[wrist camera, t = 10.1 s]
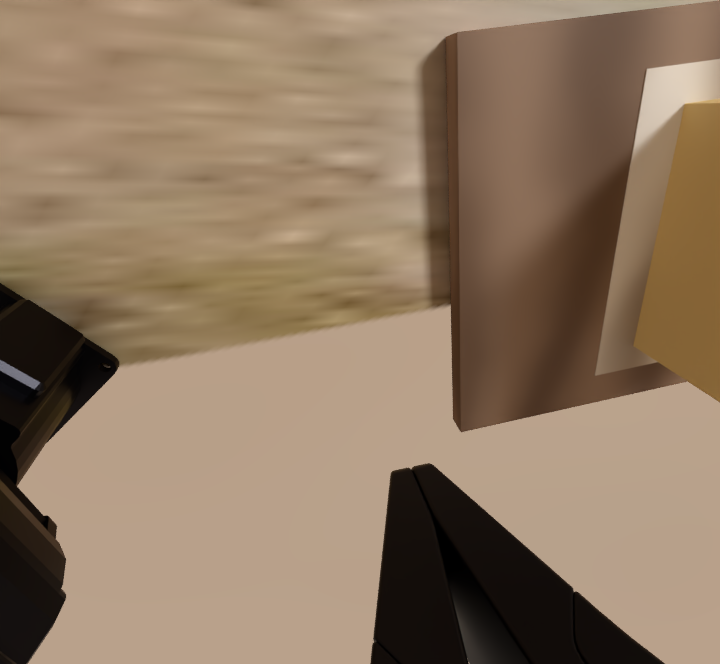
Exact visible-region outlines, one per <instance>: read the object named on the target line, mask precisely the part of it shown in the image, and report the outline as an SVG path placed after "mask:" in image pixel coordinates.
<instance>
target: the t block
mask: <svg viewBox="0 0 720 664" xmlns="http://www.w3.org/2000/svg"><path fill="white" fill-rule="evenodd" d="M633 346H634V347H636V348H637V349H639V350H640V351H642V352H643V353H645V354H646V355H648V356H649V357H651V358H652V359H654V360H656V361H657V362H659V363H660V364H662V365H663V366H665V367H666V368H668V369H669V370H671V371H672V372H674V373H676V374H677V375H679V376H680V377H682V378H683V379H685V380H686V381H688V382H689V383H691V384H693V385H694V386H696V387H697V388H699V389H700V390H702V391H703V392H705V393H706V394H708V395H710V396H711V397H713V398H714V399H716V400H717V401H719V402H720V99H713V100H706V101H699V102H693V103H686V104H685V105H684V109H683V114H682V119H681V124H680V128H679V133H678V138H677V142H676V147H675V152H674V156H673V161H672V166H671V171H670V175H669V180H668V185H667V189H666V194H665V199H664V204H663V208H662V213H661V218H660V222H659V227H658V232H657V236H656V241H655V246H654V251H653V255H652V260H651V265H650V269H649V274H648V279H647V284H646V288H645V293H644V298H643V302H642V307H641V312H640V316H639V321H638V326H637V331H636V335H635V340H634V345H633Z"/></svg>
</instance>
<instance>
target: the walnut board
mask: <svg viewBox="0 0 720 664" xmlns="http://www.w3.org/2000/svg"><path fill="white" fill-rule="evenodd" d="M446 82H447V132H448V183H449V233H450V284H451V332H452V333H451V334H452V383H453V384H452V385H453V419H454V421H455V423H456V425H457V426H458V428H459V430H460V431H461V432H464V431H468V430H473V429H477V428H481V427H486V426H491V425H495V424H500V423H504V422H508V421H513V420H517V419H522V418H526V417H531V416H535V415H540V414H544V413H549V412H553V411H558V410H562V409H566V408H571V407H575V406H580V405H584V404H589V403H593V402H598V401H602V400H607V399H611V398H615V397H620V396H624V395H629V394H633V393H638V392H642V391H646V390H651V389H656V388H660V387H664V386H669V385H674V384H678V383H682V382H686V380H685V379H683V378H682V377H680V376H679V375H677V374H676V373H674V372H672V371H671V370H669V369H668V368H666V367H665V366H663V365H662V364H660V363H659V362H657V361H656V360H654V359H652V358H651V357H649V356H648V355H646V354H645V353H643V352H642V351H640V350H639V349H637V348H636V347H634V346H633V345H634V340H635V335H636V331H637V326H638V321H639V316H640V312H641V307H642V302H643V298H644V293H645V288H646V284H647V279H648V274H649V269H650V265H651V260H652V255H653V251H654V246H655V241H656V236H657V232H658V227H659V222H660V218H661V213H662V208H663V204H664V199H665V194H666V189H667V185H668V180H669V175H670V171H671V166H672V161H673V156H674V152H675V147H676V142H677V138H678V133H679V128H680V124H681V119H682V114H683V109H684V105H685V104H686V103H693V102H699V101H706V100H713V99H720V1H712V2H704V3H696V4H688V5H679V6H671V7H663V8H654V9H646V10H638V11H630V12H621V13H613V14H605V15H597V16H588V17H580V18H572V19H563V20H555V21H547V22H539V23H530V24H522V25H514V26H506V27H497V28H489V29H481V30H472V31H464V32H457V33H455V34H452V35H450V36H447V37H446Z"/></svg>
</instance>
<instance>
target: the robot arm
mask: <svg viewBox="0 0 720 664" xmlns="http://www.w3.org/2000/svg"><path fill="white" fill-rule="evenodd" d="M102 363H107V364H109V365H110V368H106V367H104V366H103V365H102ZM118 367H119V361H118V359H117V358H116V357H115V356H113V355H112V354H110V353H109V352H107V351H106V350H104V349H102V348H101V347H99V346H98V345H96V344H95V343H93V342H92V341H90V340H88V339H87V338H85V337H84V336H83V334H82V333H80V332H79V331H77V330H75V329H74V328H72V327H71V326H69V325H68V324H66V323H65V322H63V321H61V320H60V319H58V318H57V317H55V316H54V315H52V314H51V313H49V312H47V311H46V310H44V309H43V308H41V307H40V306H38V305H36V304H35V303H33V302H32V301H30V300H26V299H24V298H23V297H21V296H20V295H18V294H16V293H15V292H13V291H12V290H10V289H9V288H7V287H5V286H4V285H2V284H1V283H0V664H28V662H29V661H30V659H31V658H32V656H33V655H34V653H35V652H36V650H37V649H38V647H39V646H40V645H41V643H42V642H43V640H44V639H45V637H46V636H47V634H48V633H49V631H50V630H51V628H52V627H53V624H54V623H55V620H56V618H57V616H58V614H59V612H60V610H61V608H62V606H63V604H64V601H65V598H66V594H65V592H64V591H63V590H62V589H61V588H62V585H63V579H64V570H65V563H66V558H65V556H64V553H63V551H62V549H61V546H60V544H59V542H58V541H57V540H56V529H57V526H56V524H55V523H54V522H53V521H52V520H51V518H50V517H49V516H43V515H42V514H41V513H40V512H39V510H38V509H37V508H36V507H35V506H34V505H33V504H32V503H31V502H30V501H29V499H28V498H27V497H26V496H25V495H24V494H23V493H22V492H21V491H20V489H19V488H17V485H18V484H19V482H20V481H21V479H22V478H23V476H24V475H25V473H26V472H27V471H28V469H29V468H30V466H31V465H32V463H33V462H34V460H35V458H36V457H37V456H38V454H39V453H40V451H41V450H42V448H43V447H44V445H45V444H46V443H47V442H48V441H49V440H50V439H51V438H52V437H53V436H54V435H55V434H56V433H57V432H58V431H59V430H60V429H61V428H62V427H63V425H64V424H66V423H67V422H68V420H70V418H72V416H73V415H74V414H75V413H76V412H77V411H78V410H79V409H80V408H81V407H82V406H83V405H84V404H85V403H86V402H87V401H88V400H89V399H90V398H91V397H92V396H93V395H94V394H95V393H96V392H97V391H98V390H99V389H100V388H101V387H102V386H103V385H104V384H105V383H106V382H107V381H108V380H109V379H110V378H111V377H112V376H113V375H114V374H115V372H116V371H117V369H118ZM373 639H374V643H373V645H372V654H371V664H469V663H470V664H664V663H663V662H662V661H661V660H660V659H658V658H657V657H656V656H654V655H653V654H652V653H650V652H649V651H648V650H647V649H645V648H644V647H643V646H641V645H640V644H639V643H637V642H636V641H635V640H634V639H632V638H631V637H630V636H628V635H627V634H626V633H625V632H624V631H623V630H621V629H620V628H619V627H617V625H615V624H614V623H613V622H612V621H611V620H609V619H608V618H607V617H606V616H605V615H604V614H602V613H601V612H600V611H599V610H598V609H596V608H595V607H594V606H593V605H592V604H591V603H590V602H588V601H587V600H586V599H585V598H584V597H583V596H581V594H579V593H578V592H573V588H572V587H571V586H570V585H569V584H568V583H567V582H565V581H564V580H563V579H562V578H561V577H560V576H559V575H557V574H556V573H555V572H554V571H553V570H552V569H551V568H550V567H548V566H547V565H546V564H545V563H544V562H543V561H542V560H541V559H539V558H538V557H537V556H536V555H535V554H534V553H533V552H531V551H530V550H529V549H528V548H527V547H526V546H525V545H523V544H522V543H521V542H520V541H519V540H518V539H517V538H515V537H514V536H513V535H512V534H511V533H510V532H508V531H507V530H506V529H505V528H504V527H503V526H502V525H501V524H499V523H498V522H497V521H496V520H495V519H494V518H493V517H491V516H490V515H489V514H488V513H487V512H486V511H485V510H484V509H482V508H481V507H480V506H479V505H478V504H477V503H476V502H475V501H473V500H472V499H471V498H470V497H469V496H467V494H465V493H464V492H463V491H462V490H461V489H459V487H457V486H456V485H455V484H454V483H453V482H452V481H451V480H449V479H448V478H447V477H446V476H445V475H443V473H442V472H440V471H439V470H438V469H437V468H436V467H434V465H432V464H429V463H428V464H423V465H418V466H414V467H413V468H412V469H410V468H404V469H399V470H395V471H392V473H391V476H390V486H389V495H388V505H387V515H386V524H385V534H384V543H383V552H382V562H381V571H380V581H379V590H378V600H377V609H376V620H375V628H374V638H373ZM467 658H468V659H467ZM468 661H469V663H468Z"/></svg>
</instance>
